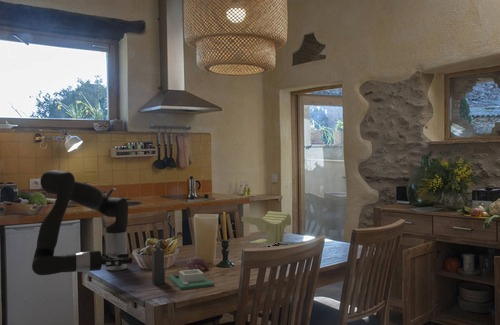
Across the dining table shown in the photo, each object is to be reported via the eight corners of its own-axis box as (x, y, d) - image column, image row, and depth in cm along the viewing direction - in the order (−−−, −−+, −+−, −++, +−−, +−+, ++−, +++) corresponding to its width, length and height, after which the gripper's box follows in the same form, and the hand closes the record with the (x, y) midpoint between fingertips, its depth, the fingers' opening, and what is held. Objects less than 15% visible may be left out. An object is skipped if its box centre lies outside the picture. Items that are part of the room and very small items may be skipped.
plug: (152, 282, 199) (152, 241, 199) (163, 281, 201) (163, 241, 201) (154, 285, 195) (154, 243, 195) (165, 283, 197) (165, 242, 197)
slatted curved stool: (265, 250, 265) (265, 218, 264) (241, 247, 274) (241, 216, 273) (291, 242, 290) (291, 212, 289) (268, 239, 299) (268, 211, 298)
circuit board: (168, 277, 207) (168, 268, 207) (199, 274, 212) (199, 265, 212) (180, 289, 189) (180, 279, 188) (214, 285, 194) (214, 275, 194)
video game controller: (203, 271, 223) (199, 257, 225) (210, 268, 221) (205, 254, 223) (188, 276, 216) (183, 261, 217) (195, 273, 213) (190, 258, 215)
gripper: (90, 255, 180) (133, 252, 186) (86, 248, 193) (127, 246, 199) (89, 275, 180) (133, 271, 186) (86, 267, 193) (127, 264, 199)
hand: (130, 258), depth 193 cm, fingers open, 8 cm apart
